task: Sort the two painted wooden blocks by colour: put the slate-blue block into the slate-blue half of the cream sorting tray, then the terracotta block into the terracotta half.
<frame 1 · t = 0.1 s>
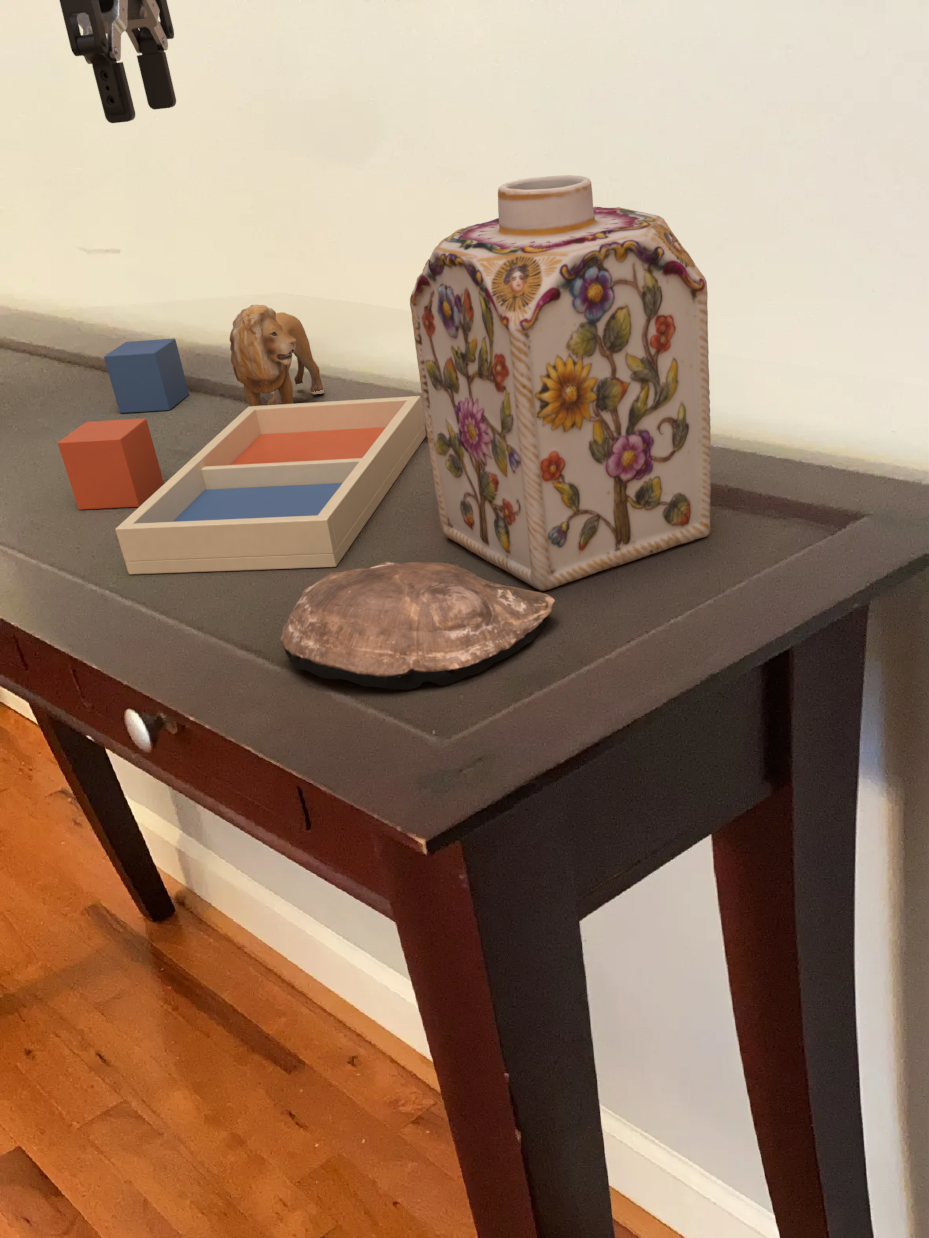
hand: (143, 114, 101), 20 cm above the table, tool pointing down, fingers open, 8 cm apart
blue block: (155, 404, 107), on the table
sorting tray: (291, 498, 84), on the table
shell: (405, 644, 65), on the table
decorative jar: (574, 541, 73), on the table
terracotta block: (122, 496, 88), on the table
lion figurine: (292, 418, 100), on the table
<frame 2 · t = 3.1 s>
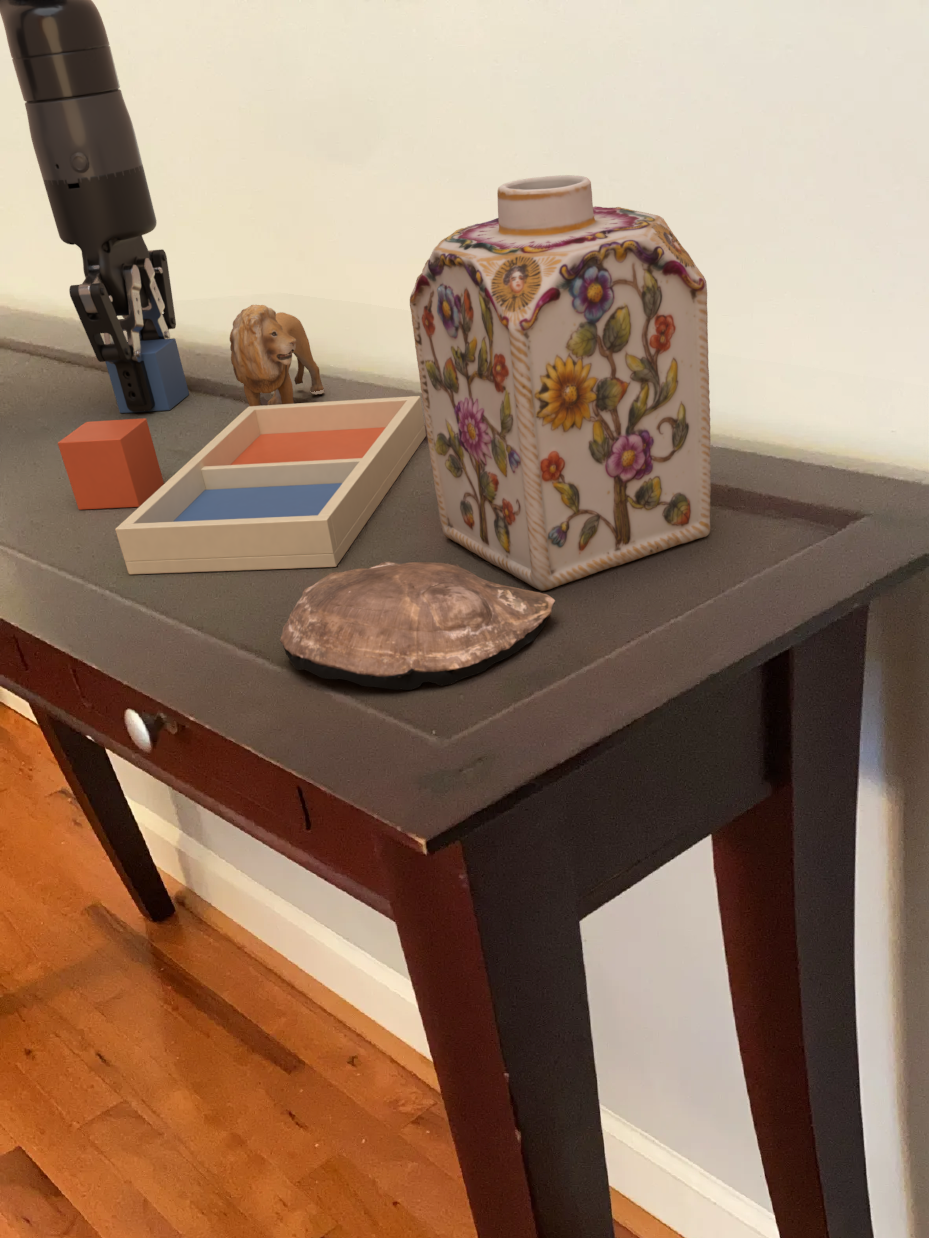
hand: (153, 399, 107), 0 cm above the table, tool pointing down, fingers closed on blue block, 4 cm apart
blue block: (155, 404, 107), on the table, touching gripper
everything else where it was.
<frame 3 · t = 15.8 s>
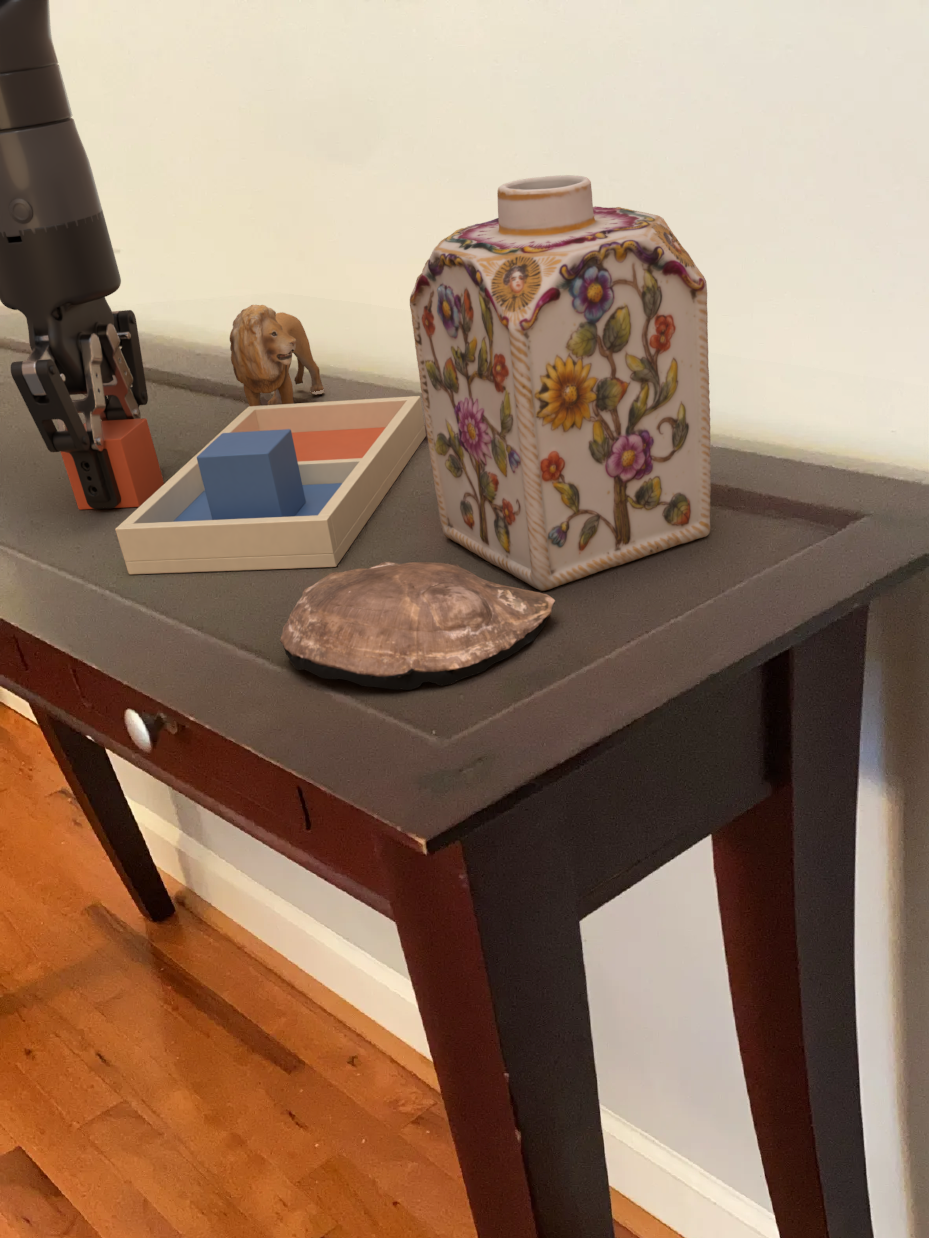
hand: (120, 492, 88), 0 cm above the table, tool pointing down, fingers closed on terracotta block, 4 cm apart
blue block: (261, 516, 79), point 1 cm above the table, touching sorting tray
terracotta block: (122, 496, 88), on the table, touching gripper
everything else where it was.
when the fingers open (1 cm above the table, at t = 22.0 s): terracotta block stays where it is, resting on sorting tray.
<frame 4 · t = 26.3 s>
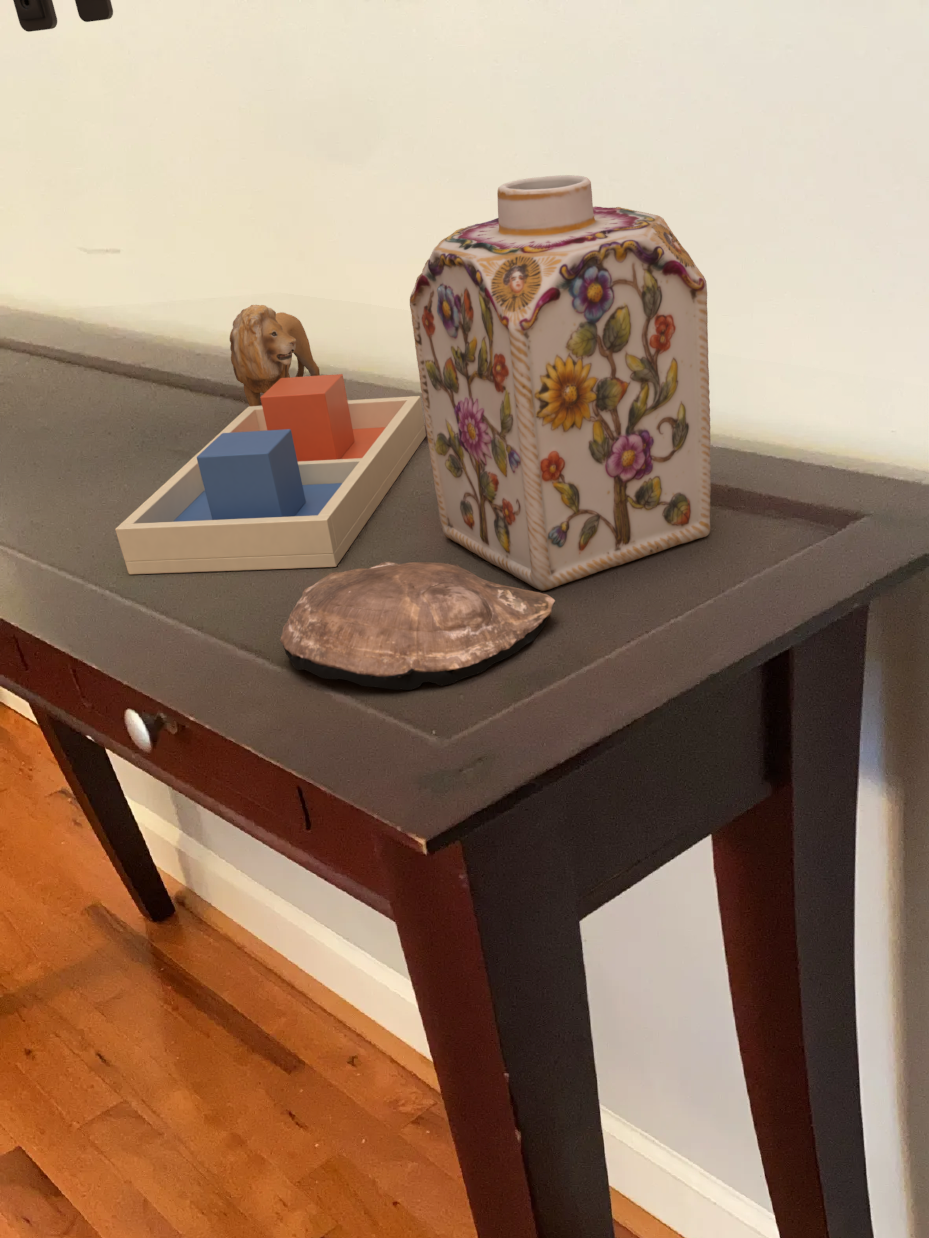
hand: (70, 25, 82), 26 cm above the table, tool pointing down, fingers open, 8 cm apart
terracotta block: (315, 453, 88), point 1 cm above the table, touching sorting tray
everything else where it was.
at the end: blue block inside the target area on the sorting tray (0.3 cm from its centre), point 1.0 cm above the sorting tray's base; terracotta block inside the target area on the sorting tray (0.3 cm from its centre), point 1.0 cm above the sorting tray's base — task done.
